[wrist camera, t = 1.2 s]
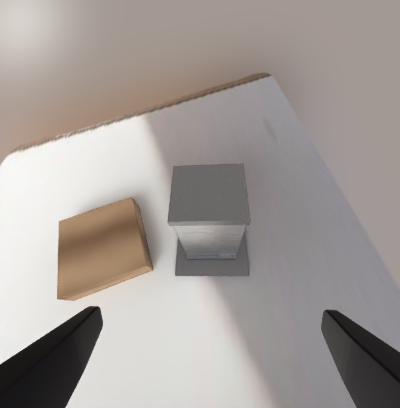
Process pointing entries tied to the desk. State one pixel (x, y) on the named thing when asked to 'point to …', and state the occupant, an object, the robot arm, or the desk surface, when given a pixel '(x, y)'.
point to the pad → (213, 264)
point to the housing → (209, 210)
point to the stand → (101, 249)
